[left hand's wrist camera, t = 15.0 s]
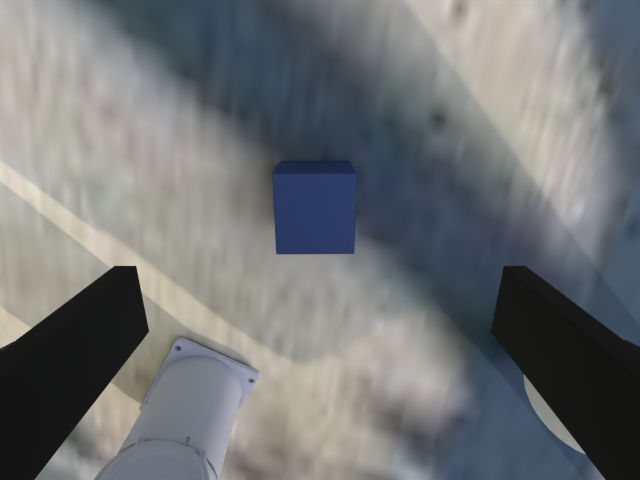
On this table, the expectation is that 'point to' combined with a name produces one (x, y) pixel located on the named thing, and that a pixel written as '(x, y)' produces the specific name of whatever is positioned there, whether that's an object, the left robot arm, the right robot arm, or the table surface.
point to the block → (314, 207)
